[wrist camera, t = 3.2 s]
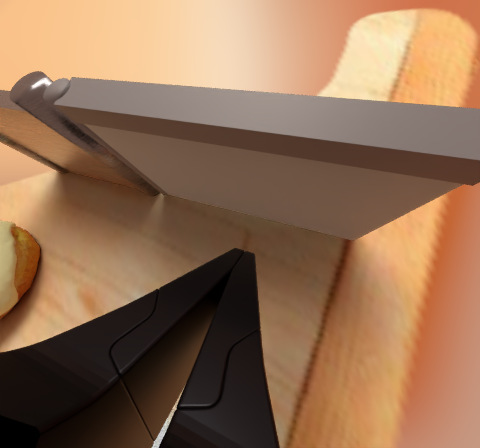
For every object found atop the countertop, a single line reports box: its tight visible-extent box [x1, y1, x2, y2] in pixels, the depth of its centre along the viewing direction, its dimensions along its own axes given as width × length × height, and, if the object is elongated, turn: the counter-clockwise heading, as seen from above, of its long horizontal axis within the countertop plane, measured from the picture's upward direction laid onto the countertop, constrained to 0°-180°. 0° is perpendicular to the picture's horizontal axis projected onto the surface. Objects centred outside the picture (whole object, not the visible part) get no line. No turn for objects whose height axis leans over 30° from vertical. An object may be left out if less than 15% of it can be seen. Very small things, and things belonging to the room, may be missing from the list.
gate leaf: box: [43, 77, 480, 241], centre depth 11 cm, size 17×2×10 cm, turn 72°
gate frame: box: [0, 71, 160, 196], centre depth 15 cm, size 14×2×10 cm, turn 72°
